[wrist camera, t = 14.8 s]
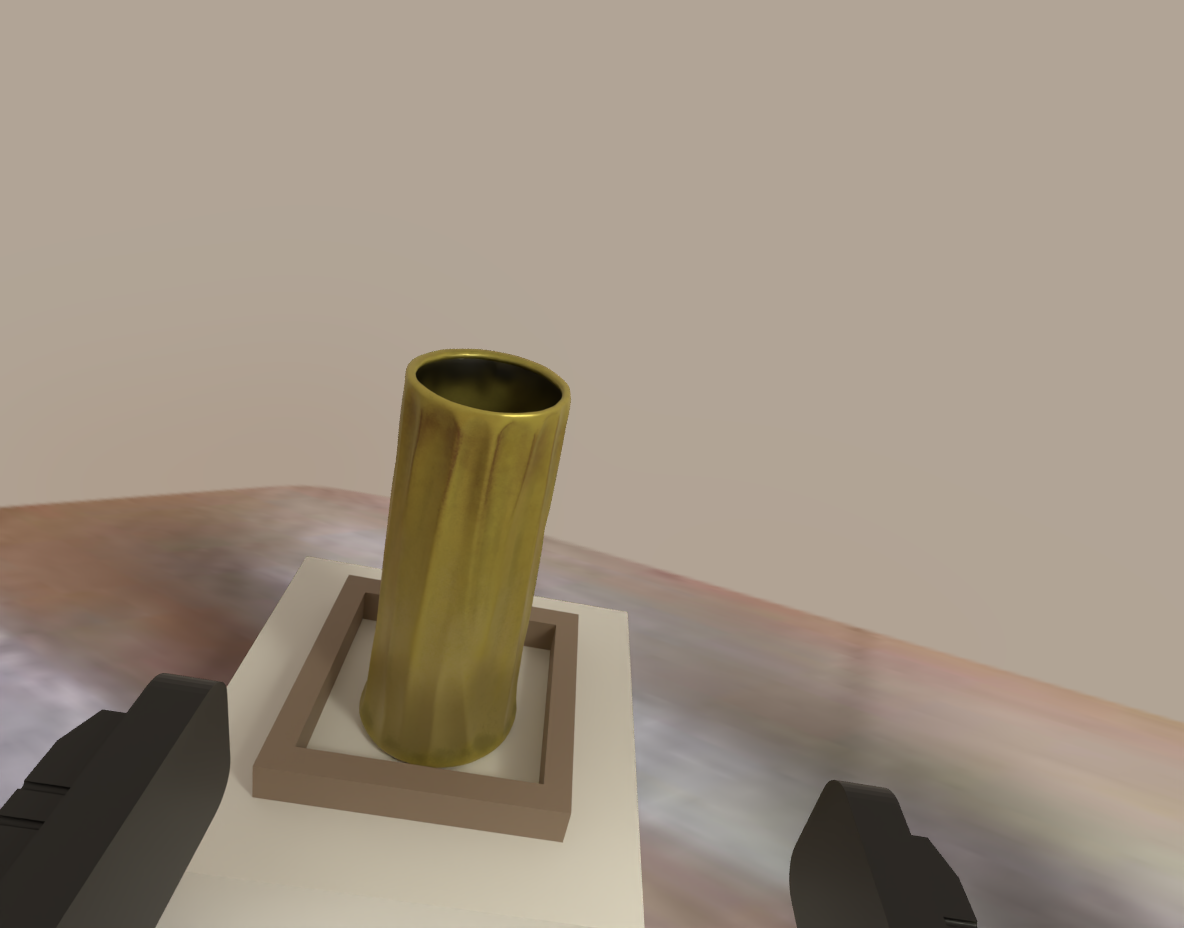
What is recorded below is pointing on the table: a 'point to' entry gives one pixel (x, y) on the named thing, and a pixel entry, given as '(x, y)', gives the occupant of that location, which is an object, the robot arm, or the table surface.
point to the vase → (462, 552)
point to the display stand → (419, 785)
